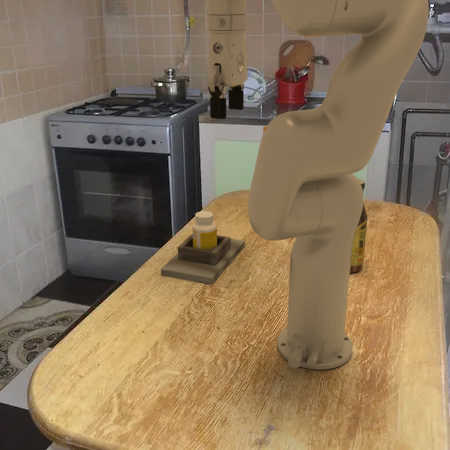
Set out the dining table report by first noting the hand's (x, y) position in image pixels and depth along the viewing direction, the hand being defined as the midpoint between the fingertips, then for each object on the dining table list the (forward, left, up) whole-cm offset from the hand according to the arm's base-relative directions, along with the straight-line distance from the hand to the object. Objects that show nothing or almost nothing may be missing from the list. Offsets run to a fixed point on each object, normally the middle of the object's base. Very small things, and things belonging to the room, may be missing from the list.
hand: (227, 113), depth 112 cm
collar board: (-2, +5, -33) cm, 34 cm away
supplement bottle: (-2, +5, -32) cm, 32 cm away
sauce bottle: (+6, -26, -34) cm, 43 cm away
